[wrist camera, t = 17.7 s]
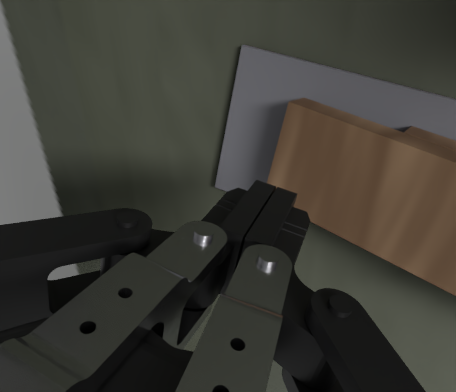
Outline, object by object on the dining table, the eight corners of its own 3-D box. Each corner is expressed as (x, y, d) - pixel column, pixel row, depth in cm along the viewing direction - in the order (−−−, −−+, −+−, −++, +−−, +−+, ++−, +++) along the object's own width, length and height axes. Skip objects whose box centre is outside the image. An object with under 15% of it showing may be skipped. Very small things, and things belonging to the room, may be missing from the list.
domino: (262, 197, 19) (474, 305, 15) (288, 101, 17) (551, 198, 12) (278, 188, 20) (477, 285, 16) (304, 97, 18) (548, 183, 14)
